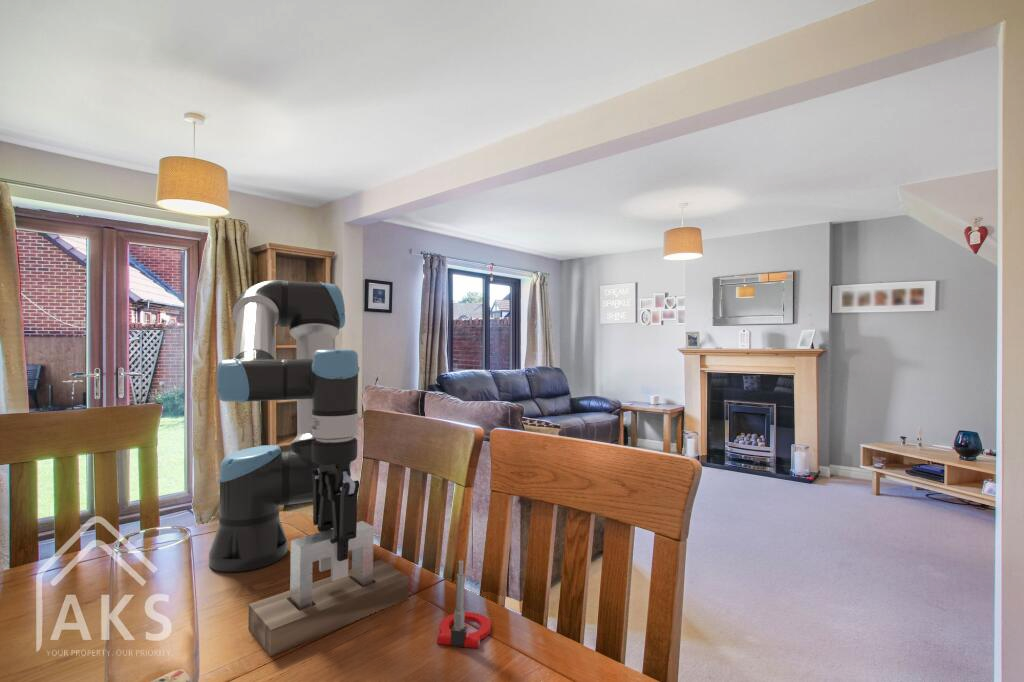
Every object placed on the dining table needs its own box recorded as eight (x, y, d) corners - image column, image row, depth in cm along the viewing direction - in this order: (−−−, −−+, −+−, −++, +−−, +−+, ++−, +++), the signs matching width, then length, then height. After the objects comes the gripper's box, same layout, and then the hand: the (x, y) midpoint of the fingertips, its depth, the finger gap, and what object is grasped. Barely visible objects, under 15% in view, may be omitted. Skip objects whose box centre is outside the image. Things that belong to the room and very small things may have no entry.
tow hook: (447, 616, 86) (430, 645, 77) (449, 540, 86) (433, 561, 77) (495, 621, 84) (483, 651, 75) (496, 544, 85) (486, 565, 76)
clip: (289, 618, 82) (290, 540, 82) (361, 591, 91) (362, 520, 92) (299, 628, 79) (300, 547, 80) (372, 599, 89) (373, 526, 89)
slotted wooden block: (248, 628, 81) (248, 604, 81) (380, 580, 98) (380, 559, 98) (270, 656, 73) (270, 629, 73) (408, 598, 90) (408, 577, 90)
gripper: (293, 434, 89) (292, 563, 89) (336, 448, 77) (334, 599, 77) (333, 429, 94) (332, 551, 94) (379, 442, 82) (378, 582, 82)
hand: (333, 572), depth 85 cm, fingers closed on clip, 4 cm apart
